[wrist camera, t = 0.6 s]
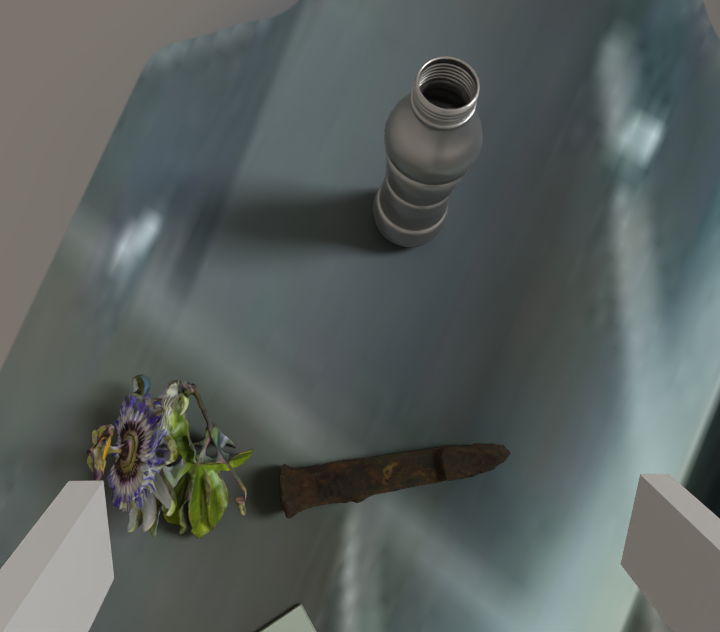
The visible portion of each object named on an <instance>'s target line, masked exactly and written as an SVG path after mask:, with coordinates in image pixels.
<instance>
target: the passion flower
mask: <svg viewBox="0 0 720 632" xmlns="http://www.w3.org/2000/svg"><path fill="white" fill-rule="evenodd" d="M132 381H133V387H134V391H133V393H130V394H129V395H127V396H126V397H125V398H124V402H123V404H122V405H121V407H120V414H119V417H118V418H117V419H116V420H115V421H114V426H113V425H112V424H108V425H101V426H100V428H99V429H98V430H94V431H93V432H92V443H93V444H94V446H92V447H90V448H89V449H88V451H87V454H88V459H87V464H88V466H89V467H90V469H91V470H92V472H93V473H94V475H95V480H96V481H101V480H102V478H103V475H104V469H105V466H106V456H107V455H108V454H112V453H114V454H113V456H114V457H115V459H116V460H115V464H114V465H113V466H112V467H111V470H110V472H109V474H108V476H107V481H108V486H109V487H111V488H113V492H114V493H113V495H112V497H113V496H114V499H113V503H114V506H117V507H118V509H120V510H122V512H124V511H125V512H128V515H129V516H130V520H129V525H128V532H129V533H130V532H132V531H133V530H134V529H136V528H137V527H139V526H140V525H141V524H142V522H143V531H144V532H145V531H147V530H148V531H150V532H151V535H152V537H156V536H157V530H156V528H157V525H158V518H159V514H160V509H161V510H162V511H163V517H164V519H166V521H167V522H168V523H171V524H175V525H181V528H180V532H179V534H184V532H186V530H187V529H188V528H189V525H188V523H189V522H190V524H191V527H192V530H191V532H192V534H193V535H194V536H195V537H196V538H197V539H200V538H202V536H203V535H205V534H207V533H208V532H209V531H211V530H213V529H214V528H215V526H216V525H217V523H218V522H219V520H220V519H221V517H222V515H223V513H224V512H225V510H226V509H227V506H228V501H229V493H228V490H227V487H226V484H225V483H224V480H223V477H222V475H221V471H229V470H230V471H231V472H232V475H234V476H235V477H236V479H237V481H238V483H239V485H240V486H241V488H242V489H243V491H244V492H245V497H243V496H238V497H236V498H235V501H236V502H237V504H238V507H239V510H240V512H241V515H245V514H246V508H245V505H244V502H245V500H246V488H245V487H244V485H243V483H242V481H241V480H240V478H239V476H238V475H237V473H236V472H235V471H234V469H233V468H236V467H238V466H240V465H241V464H243V463H244V462H245V461H246V460H247V459H248V458H249V457H250V456H251V454H252V452H253V451H254V450H253V449H250V450H248V451H245V452H242V453H237V454H227V453H224V452H223V451H222V448H224V446H225V444H230V445H231V446H233V447H235V448H236V445H235V444H234V443H233V442H232V441H231V440H230V439H229V438H228V437H226V436H225V435H224V434H223V433H221V432H220V430H219V428H218V427H217V425H216V424H214V423H213V422H212V421H211V419H210V417H209V414H208V412H207V411H206V409H205V407H204V404H203V402H202V400H201V397H200V393H199V391H198V390H197V388H196V386H195V384H190V383H188V382H187V381H184V382H182V381H177V380H176V381H171V382H169V383H168V384H167V385H166V386H165V387H164V389H163V392H162V394H161V395H160V396H158V397H156V398H154V399H151V398H150V396H149V393H147V392H148V391H149V389H150V385H151V384H150V380H149V378H148V377H146V376H144V375H137V376H135V377H133V380H132ZM180 383H181V385H182V387H183V388H184V389H183V388H182V387H181V385H180ZM189 395H194V396H195V398H196V399H197V402H198V404H199V408H200V409H201V411H202V413H203V416H204V418H205V420H206V422H207V428H206V432H205V437H204V438H203V439H202V440H201V441H199V442H196V443H192V441H191V439H190V426H189V423H188V419H187V416H188V415H187V413H186V412H185V411H186V409H187V407H188V405H189V397H188V396H189ZM114 428H115V429H116V430H117V434H118V435H119V436H118V437H117V440H118V441H117V442H116V443H115V444H116V446H113V447H112V446H110V443H111V440H112V437H113V434H114ZM106 440H107V441H106ZM210 441H212V443H213V445H214V446H215V448H216V450H217V453H218V455H217V456H216V457H215V458H211V457H208V456H206V447H207V445H208V443H209V442H210ZM196 445H199V446H200V447H201V452H200V453H199V454H198V455H196V449H195V447H194V446H196ZM178 453H179V454H180V455H181V460H180V461H179V462H178V463H177V464H175V465H174V466H171V467H167V466H165V465H168V464H170V463H172V462H174V461H176V459H177V458H178ZM180 478H181V479H180ZM179 479H180V480H179ZM178 481H179V482H178ZM112 497H111V499H112ZM187 501H188V519H189V522H188V519H187V517H186V511H185V503H186V502H187Z"/></svg>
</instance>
